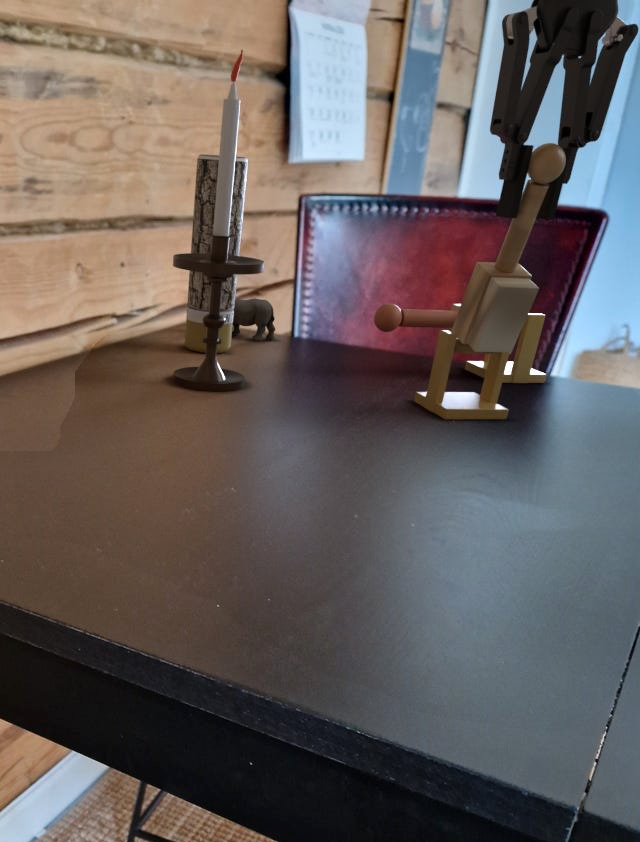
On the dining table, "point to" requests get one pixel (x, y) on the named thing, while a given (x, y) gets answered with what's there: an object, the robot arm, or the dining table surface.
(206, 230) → the paper tube
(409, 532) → the dining table surface
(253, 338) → the rhino figurine
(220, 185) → the candlestick
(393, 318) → the brush far
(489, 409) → the bracket near
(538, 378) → the bracket far
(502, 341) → the brush near
